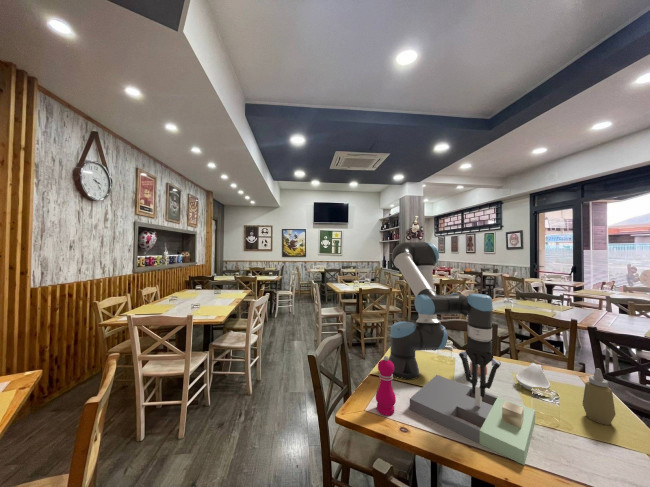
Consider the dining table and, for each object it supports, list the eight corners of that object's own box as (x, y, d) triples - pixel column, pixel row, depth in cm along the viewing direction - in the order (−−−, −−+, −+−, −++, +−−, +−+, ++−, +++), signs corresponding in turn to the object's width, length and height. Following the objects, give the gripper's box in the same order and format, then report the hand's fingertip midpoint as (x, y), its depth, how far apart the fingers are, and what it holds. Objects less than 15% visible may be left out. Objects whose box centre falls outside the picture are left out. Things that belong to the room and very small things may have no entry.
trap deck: (409, 409, 95) (409, 398, 95) (436, 383, 113) (436, 374, 113) (524, 465, 71) (524, 451, 71) (535, 421, 89) (535, 409, 89)
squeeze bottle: (577, 415, 93) (577, 366, 93) (588, 410, 96) (588, 362, 96) (609, 430, 85) (609, 376, 86) (620, 423, 88) (619, 372, 89)
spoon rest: (549, 400, 102) (549, 382, 102) (513, 388, 111) (513, 372, 111) (553, 379, 119) (553, 364, 119) (521, 370, 127) (521, 356, 128)
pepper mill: (382, 401, 99) (383, 350, 99) (399, 410, 94) (399, 356, 94) (371, 410, 94) (372, 355, 94) (388, 419, 89) (389, 362, 89)
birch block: (502, 420, 83) (502, 407, 83) (505, 413, 87) (505, 400, 87) (521, 428, 80) (521, 414, 80) (523, 420, 83) (523, 407, 83)
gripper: (456, 335, 92) (455, 400, 92) (499, 346, 83) (498, 417, 83) (462, 331, 98) (461, 392, 98) (503, 340, 89) (502, 407, 89)
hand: (478, 403), depth 90 cm, fingers closed
